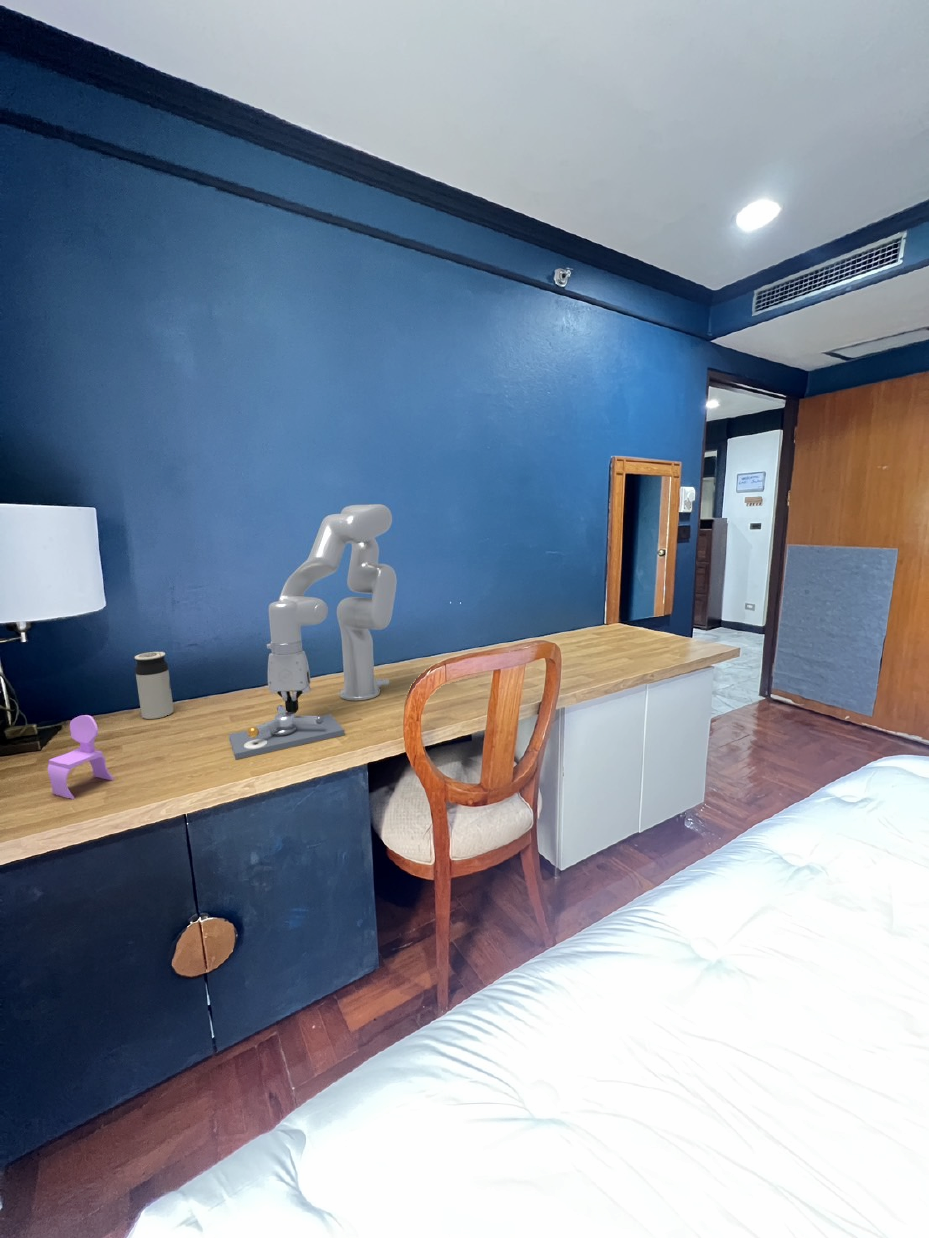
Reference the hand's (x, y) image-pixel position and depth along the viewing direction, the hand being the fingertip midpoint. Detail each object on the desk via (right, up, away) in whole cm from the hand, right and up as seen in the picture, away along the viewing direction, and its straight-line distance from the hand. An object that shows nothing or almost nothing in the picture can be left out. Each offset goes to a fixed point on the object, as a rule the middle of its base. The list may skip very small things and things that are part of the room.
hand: (292, 713), depth 135 cm
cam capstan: (-1, -3, -8) cm, 9 cm away
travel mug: (-43, -3, +10) cm, 44 cm away
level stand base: (+1, -5, -7) cm, 8 cm away
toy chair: (-34, -10, -30) cm, 46 cm away
